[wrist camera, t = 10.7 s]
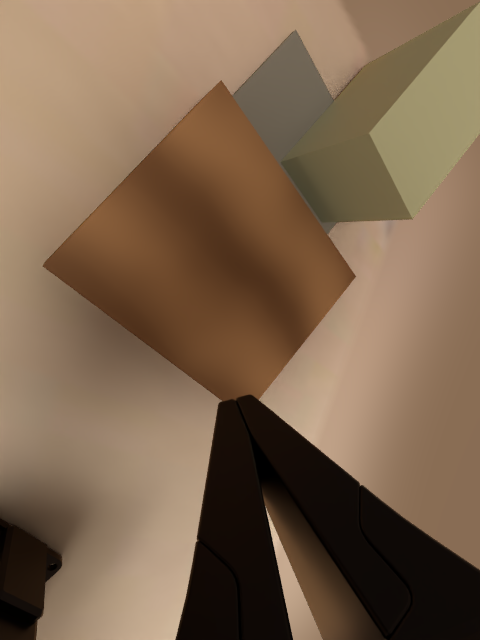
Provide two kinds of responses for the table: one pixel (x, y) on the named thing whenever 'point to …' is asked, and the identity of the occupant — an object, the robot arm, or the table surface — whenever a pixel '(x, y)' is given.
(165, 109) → the table surface
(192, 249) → the panel
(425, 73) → the card box
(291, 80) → the mat
